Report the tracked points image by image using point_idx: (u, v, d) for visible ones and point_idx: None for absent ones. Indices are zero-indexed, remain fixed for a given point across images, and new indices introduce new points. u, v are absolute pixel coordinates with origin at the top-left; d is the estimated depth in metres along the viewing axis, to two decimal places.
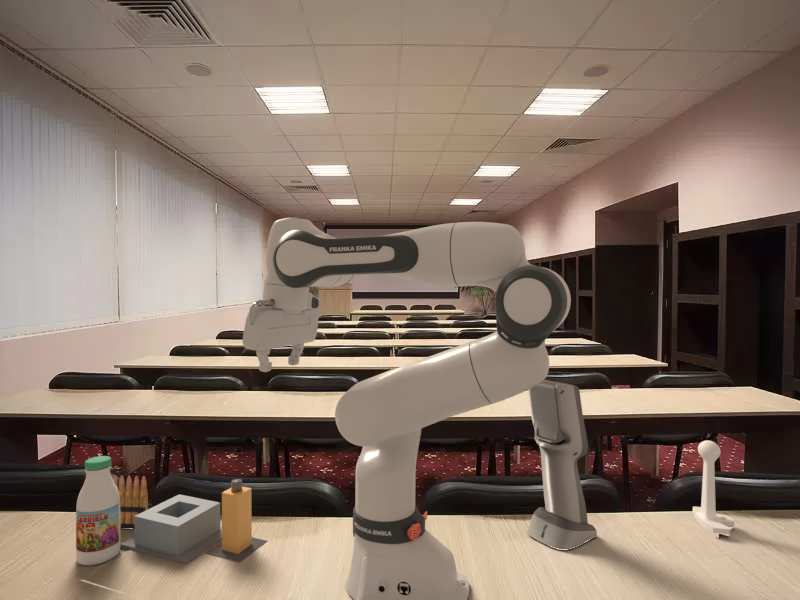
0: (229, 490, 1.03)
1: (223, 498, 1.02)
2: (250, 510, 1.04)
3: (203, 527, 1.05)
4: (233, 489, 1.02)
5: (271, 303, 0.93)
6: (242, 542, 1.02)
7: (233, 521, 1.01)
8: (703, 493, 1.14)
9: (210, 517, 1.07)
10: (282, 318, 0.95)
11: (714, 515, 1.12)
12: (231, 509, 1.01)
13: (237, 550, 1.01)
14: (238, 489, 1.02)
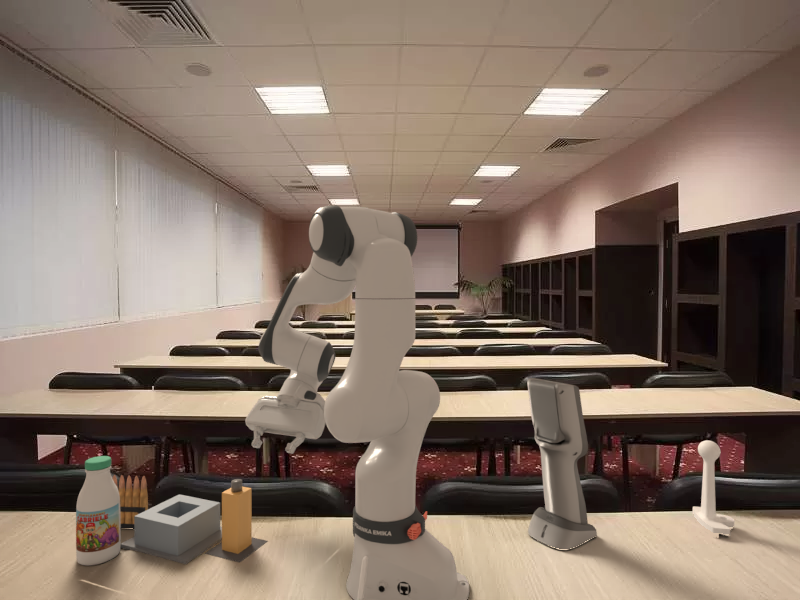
0: (229, 490, 1.03)
1: (223, 498, 1.02)
2: (250, 510, 1.04)
3: (203, 527, 1.05)
4: (233, 489, 1.02)
5: (276, 398, 1.25)
6: (242, 542, 1.02)
7: (233, 521, 1.01)
8: (703, 493, 1.14)
9: (210, 517, 1.07)
10: (276, 405, 1.21)
11: (714, 515, 1.12)
12: (231, 509, 1.01)
13: (237, 550, 1.01)
14: (238, 489, 1.02)
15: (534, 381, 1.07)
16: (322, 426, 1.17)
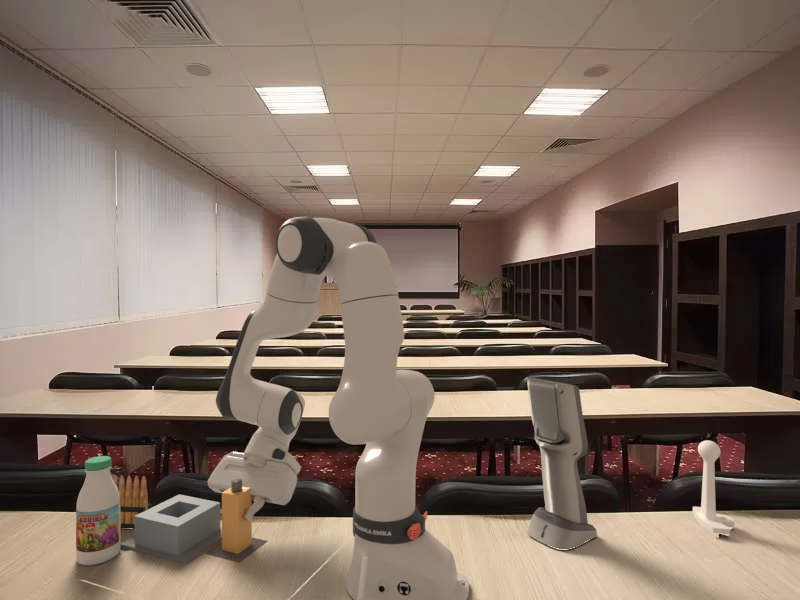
0: (229, 490, 1.03)
1: (223, 498, 1.02)
2: None
3: (203, 527, 1.05)
4: (233, 489, 1.02)
5: (242, 454, 1.13)
6: (242, 542, 1.02)
7: (233, 521, 1.01)
8: (703, 493, 1.14)
9: (210, 517, 1.07)
10: (242, 465, 1.09)
11: (714, 515, 1.12)
12: (231, 509, 1.01)
13: (237, 550, 1.01)
14: (238, 489, 1.02)
15: (534, 381, 1.07)
16: (291, 490, 1.05)
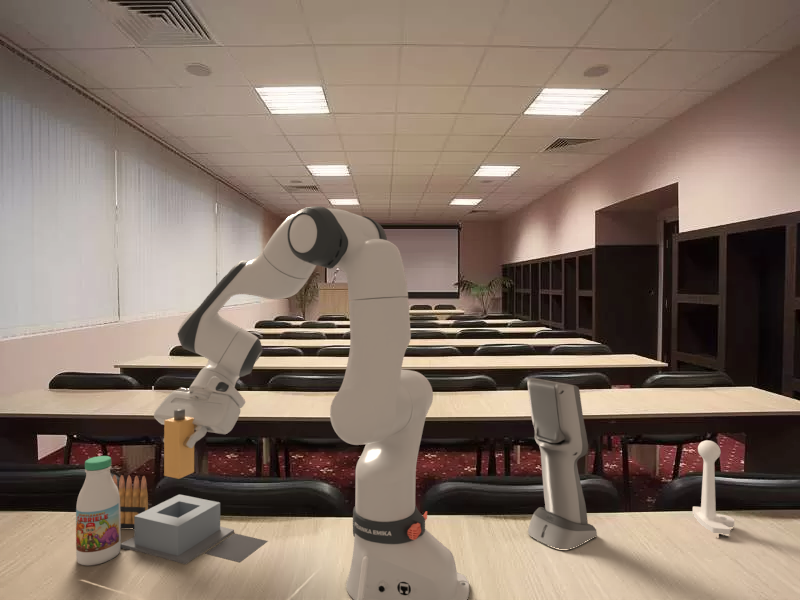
0: (172, 419, 1.06)
1: (165, 425, 1.05)
2: None
3: (203, 527, 1.05)
4: (175, 417, 1.05)
5: None
6: (184, 468, 1.05)
7: (175, 447, 1.04)
8: (703, 493, 1.14)
9: (210, 517, 1.07)
10: (187, 398, 1.12)
11: (714, 515, 1.12)
12: (172, 436, 1.04)
13: (178, 475, 1.04)
14: (180, 417, 1.05)
15: (534, 381, 1.07)
16: (233, 420, 1.08)
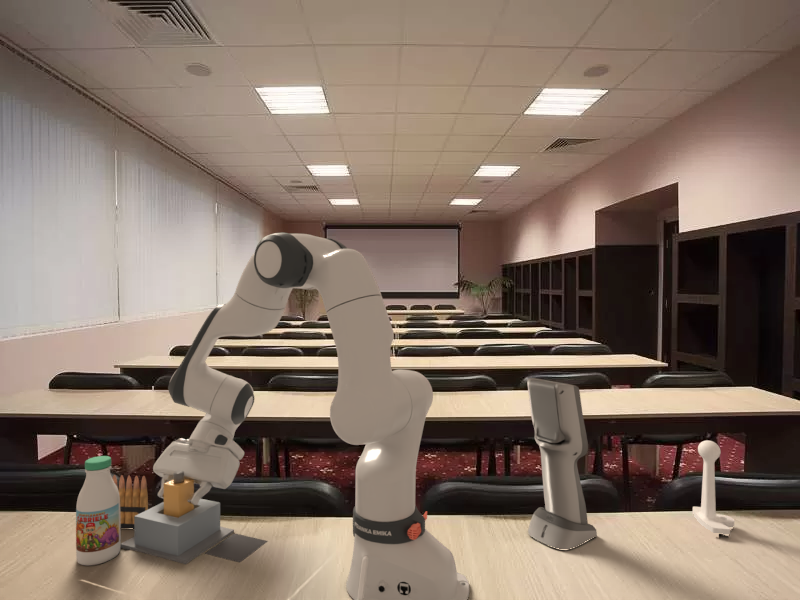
0: (171, 481, 1.06)
1: (165, 489, 1.05)
2: None
3: (203, 527, 1.05)
4: (175, 480, 1.05)
5: None
6: None
7: (174, 511, 1.04)
8: (703, 493, 1.14)
9: (210, 517, 1.07)
10: (186, 450, 1.13)
11: (714, 515, 1.12)
12: (172, 499, 1.04)
13: None
14: (179, 480, 1.06)
15: (534, 381, 1.07)
16: (232, 474, 1.08)
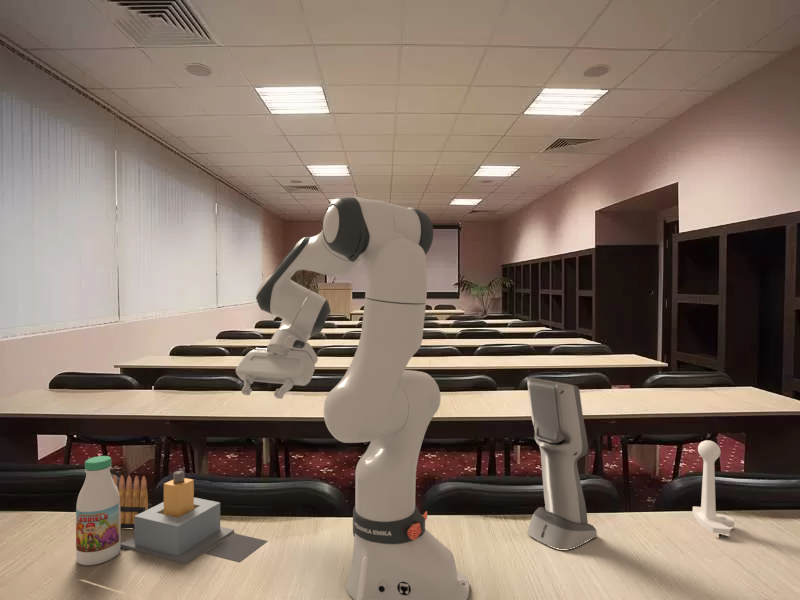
0: (171, 481, 1.06)
1: (165, 489, 1.05)
2: (192, 501, 1.07)
3: (203, 527, 1.05)
4: (175, 480, 1.05)
5: (266, 349, 1.27)
6: None
7: (174, 511, 1.04)
8: (703, 493, 1.14)
9: (210, 517, 1.07)
10: (266, 355, 1.23)
11: (714, 515, 1.12)
12: (172, 499, 1.04)
13: None
14: (179, 480, 1.06)
15: (534, 381, 1.07)
16: (310, 373, 1.19)
